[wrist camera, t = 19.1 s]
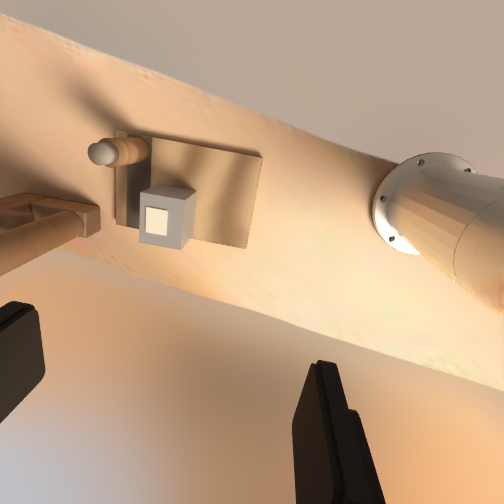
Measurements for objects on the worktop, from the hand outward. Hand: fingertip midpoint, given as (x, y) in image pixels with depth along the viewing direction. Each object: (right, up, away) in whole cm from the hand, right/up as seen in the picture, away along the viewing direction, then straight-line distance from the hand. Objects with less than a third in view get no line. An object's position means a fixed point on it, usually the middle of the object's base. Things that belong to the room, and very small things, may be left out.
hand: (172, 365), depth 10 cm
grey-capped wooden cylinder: (-11, +16, +26) cm, 32 cm away
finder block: (-7, +9, +28) cm, 31 cm away
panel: (-6, +12, +28) cm, 31 cm away
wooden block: (-24, +10, +31) cm, 40 cm away
